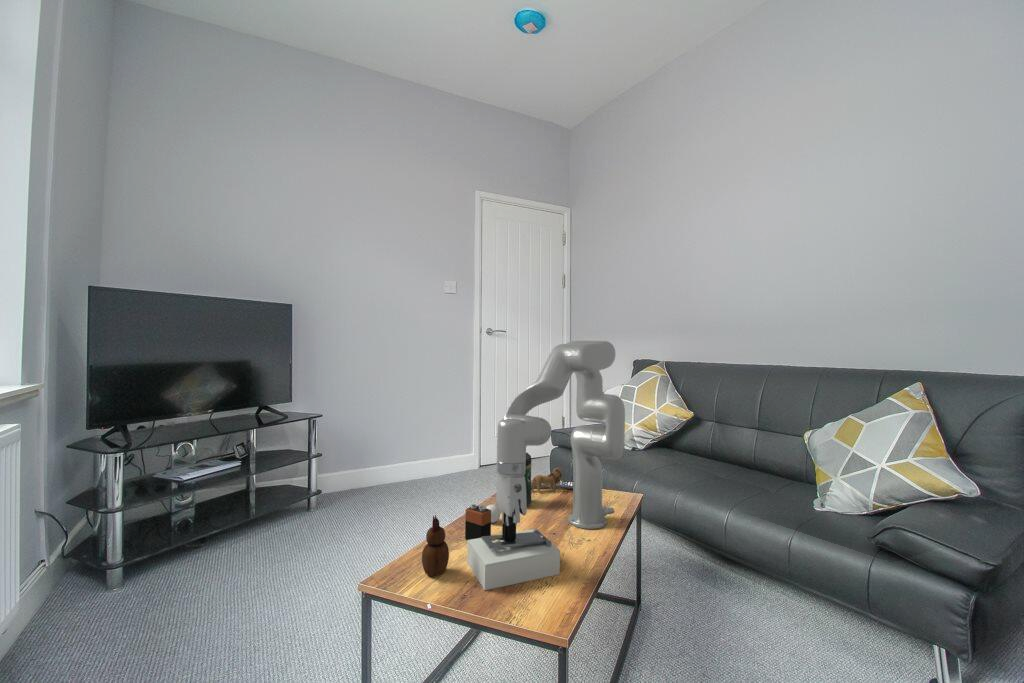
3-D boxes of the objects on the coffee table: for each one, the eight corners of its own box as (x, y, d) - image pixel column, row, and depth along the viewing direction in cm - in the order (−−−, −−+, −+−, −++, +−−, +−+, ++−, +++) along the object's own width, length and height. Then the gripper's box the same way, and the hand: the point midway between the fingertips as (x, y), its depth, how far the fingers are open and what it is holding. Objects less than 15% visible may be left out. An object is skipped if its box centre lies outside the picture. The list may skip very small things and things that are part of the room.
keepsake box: (535, 550, 122) (535, 522, 122) (559, 574, 109) (559, 543, 110) (467, 562, 115) (467, 533, 115) (484, 590, 102) (485, 556, 102)
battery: (482, 545, 125) (482, 510, 125) (464, 539, 128) (464, 505, 129) (491, 540, 128) (492, 506, 128) (473, 534, 132) (474, 501, 132)
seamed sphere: (483, 518, 145) (484, 501, 145) (500, 519, 144) (501, 502, 144) (481, 528, 137) (481, 510, 137) (499, 528, 137) (499, 510, 137)
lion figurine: (559, 487, 178) (559, 465, 178) (565, 491, 173) (565, 469, 173) (526, 491, 173) (526, 468, 173) (531, 495, 168) (531, 472, 168)
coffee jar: (512, 498, 164) (513, 449, 164) (533, 501, 162) (533, 451, 162) (505, 507, 155) (505, 455, 155) (526, 510, 152) (527, 457, 153)
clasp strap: (538, 534, 118) (539, 530, 118) (549, 544, 113) (549, 539, 113) (481, 539, 112) (481, 535, 112) (489, 549, 106) (489, 545, 106)
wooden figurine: (434, 582, 105) (435, 520, 105) (417, 575, 108) (418, 514, 108) (452, 570, 111) (453, 511, 111) (435, 564, 114) (436, 506, 114)
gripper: (536, 474, 107) (534, 549, 106) (513, 459, 120) (511, 526, 120) (508, 476, 104) (506, 554, 103) (487, 461, 118) (485, 530, 117)
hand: (508, 539), depth 112 cm, fingers closed
